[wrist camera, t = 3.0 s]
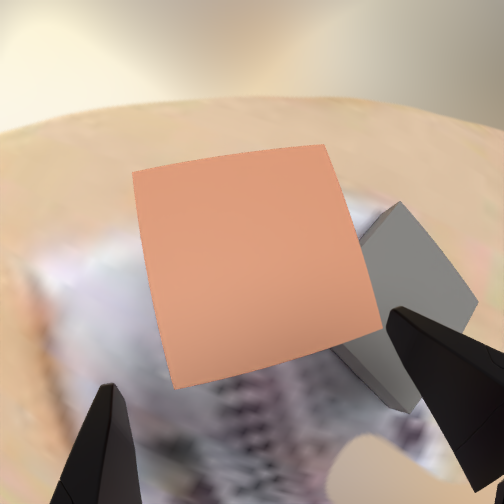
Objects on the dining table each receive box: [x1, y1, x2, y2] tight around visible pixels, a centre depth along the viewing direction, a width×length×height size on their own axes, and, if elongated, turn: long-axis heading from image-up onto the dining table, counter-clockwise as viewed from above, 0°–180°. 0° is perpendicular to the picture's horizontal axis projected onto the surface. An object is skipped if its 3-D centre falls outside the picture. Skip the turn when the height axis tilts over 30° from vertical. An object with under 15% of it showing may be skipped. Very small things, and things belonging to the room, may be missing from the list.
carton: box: [132, 144, 383, 390], centre depth 13 cm, size 5×5×12 cm
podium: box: [331, 201, 478, 414], centre depth 20 cm, size 10×10×2 cm
